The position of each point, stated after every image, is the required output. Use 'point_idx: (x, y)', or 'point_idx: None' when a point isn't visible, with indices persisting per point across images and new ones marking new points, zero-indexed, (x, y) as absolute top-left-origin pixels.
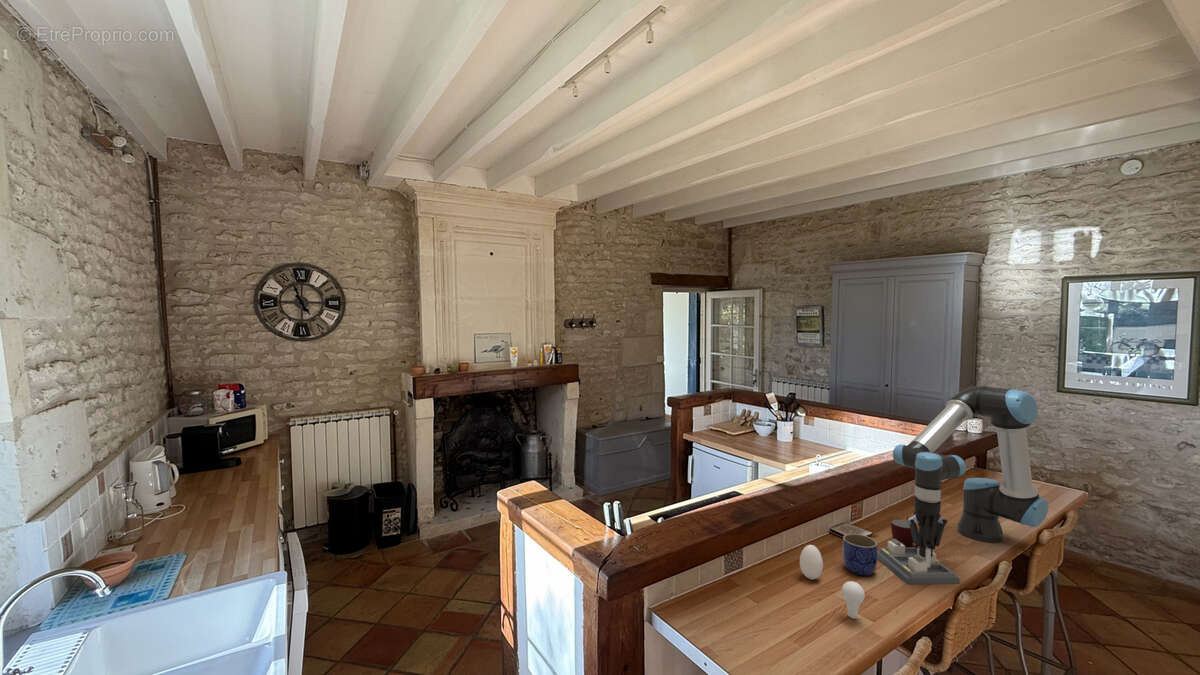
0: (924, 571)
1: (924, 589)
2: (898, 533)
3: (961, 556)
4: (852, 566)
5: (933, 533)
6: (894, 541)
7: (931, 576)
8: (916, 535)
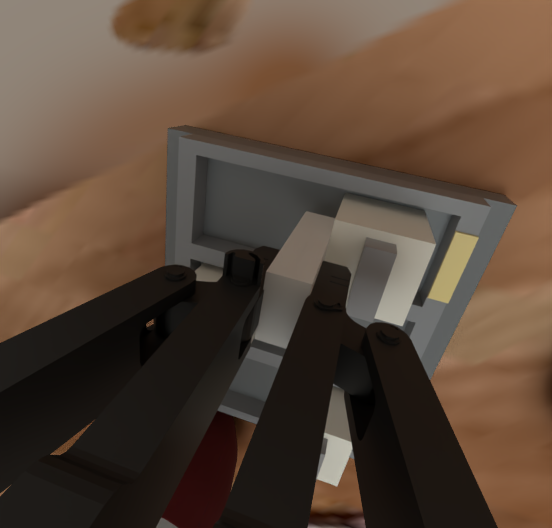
0: (361, 205)
1: (453, 110)
2: (216, 499)
3: (28, 305)
4: None
5: (136, 393)
6: (319, 470)
7: (336, 168)
8: (461, 473)
